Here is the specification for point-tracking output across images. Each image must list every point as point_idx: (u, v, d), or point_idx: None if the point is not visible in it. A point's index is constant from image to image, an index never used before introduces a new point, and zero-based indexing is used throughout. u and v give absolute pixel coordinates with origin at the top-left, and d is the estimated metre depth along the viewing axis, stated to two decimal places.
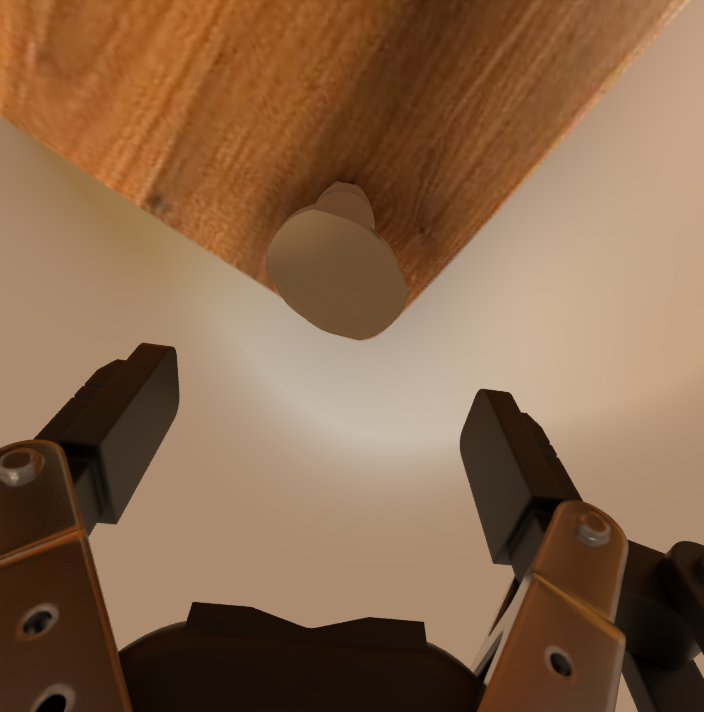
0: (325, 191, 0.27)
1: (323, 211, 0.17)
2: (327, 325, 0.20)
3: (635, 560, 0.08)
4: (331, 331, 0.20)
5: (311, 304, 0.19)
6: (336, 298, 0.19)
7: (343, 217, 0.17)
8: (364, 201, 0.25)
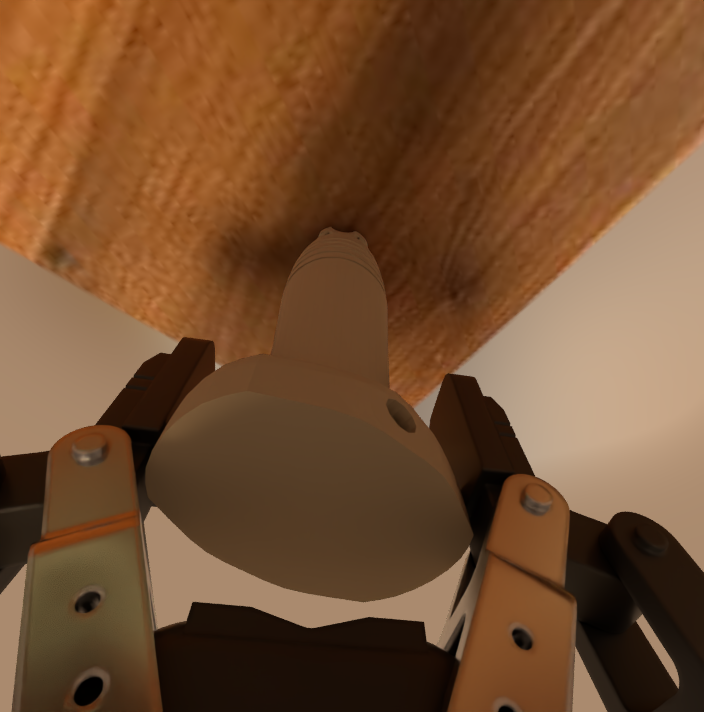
0: (306, 253, 0.16)
1: (274, 391, 0.07)
2: (296, 582, 0.09)
3: (579, 530, 0.08)
4: (305, 590, 0.09)
5: (259, 553, 0.09)
6: (313, 544, 0.09)
7: (325, 404, 0.07)
8: (370, 276, 0.15)
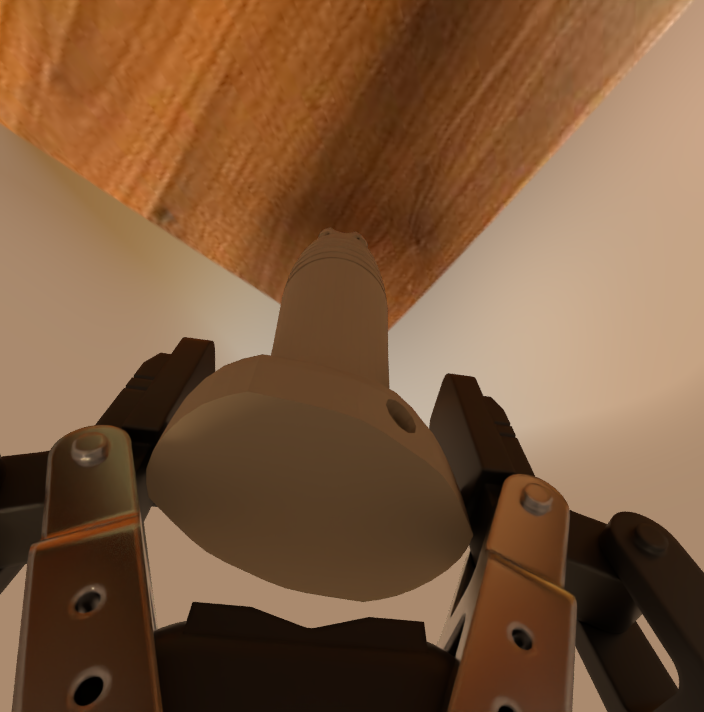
0: (306, 253, 0.16)
1: (274, 392, 0.07)
2: (296, 582, 0.09)
3: (579, 530, 0.08)
4: (305, 590, 0.09)
5: (259, 553, 0.09)
6: (314, 544, 0.09)
7: (325, 404, 0.07)
8: (370, 277, 0.15)
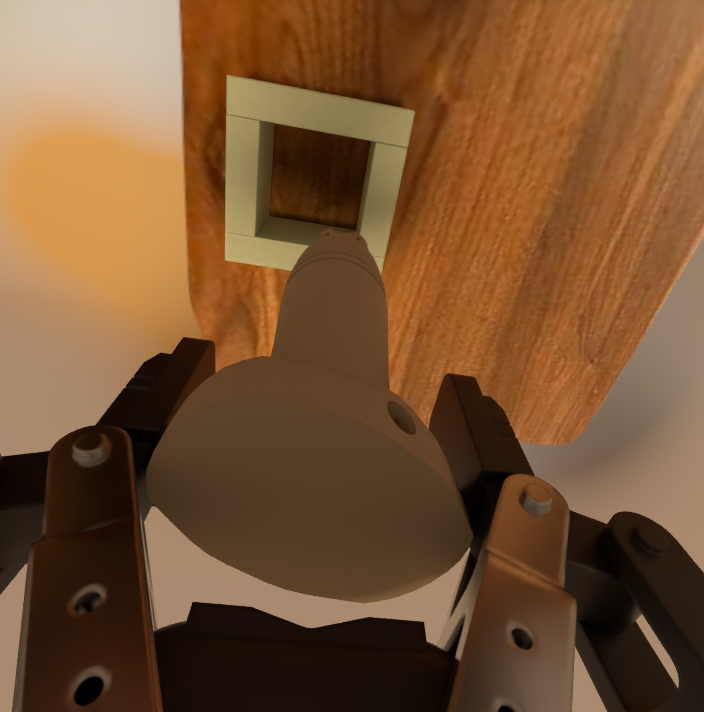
0: (306, 254, 0.16)
1: (275, 394, 0.07)
2: (296, 583, 0.09)
3: (579, 530, 0.08)
4: (305, 591, 0.09)
5: (259, 554, 0.09)
6: (314, 546, 0.09)
7: (326, 406, 0.07)
8: (370, 277, 0.15)
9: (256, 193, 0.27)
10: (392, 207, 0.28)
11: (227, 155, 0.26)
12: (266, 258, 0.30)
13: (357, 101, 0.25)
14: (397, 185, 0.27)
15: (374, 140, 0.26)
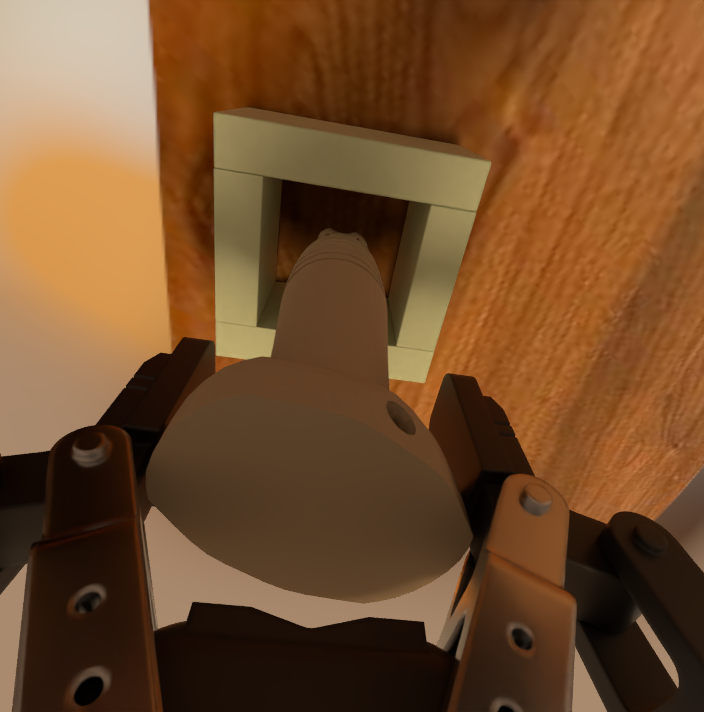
0: (306, 254, 0.16)
1: (274, 394, 0.07)
2: (296, 583, 0.09)
3: (579, 530, 0.08)
4: (305, 591, 0.09)
5: (259, 555, 0.09)
6: (313, 546, 0.09)
7: (325, 406, 0.07)
8: (370, 277, 0.15)
9: (258, 272, 0.20)
10: (448, 289, 0.20)
11: (216, 223, 0.18)
12: None
13: (407, 149, 0.17)
14: (458, 261, 0.19)
15: (429, 202, 0.18)
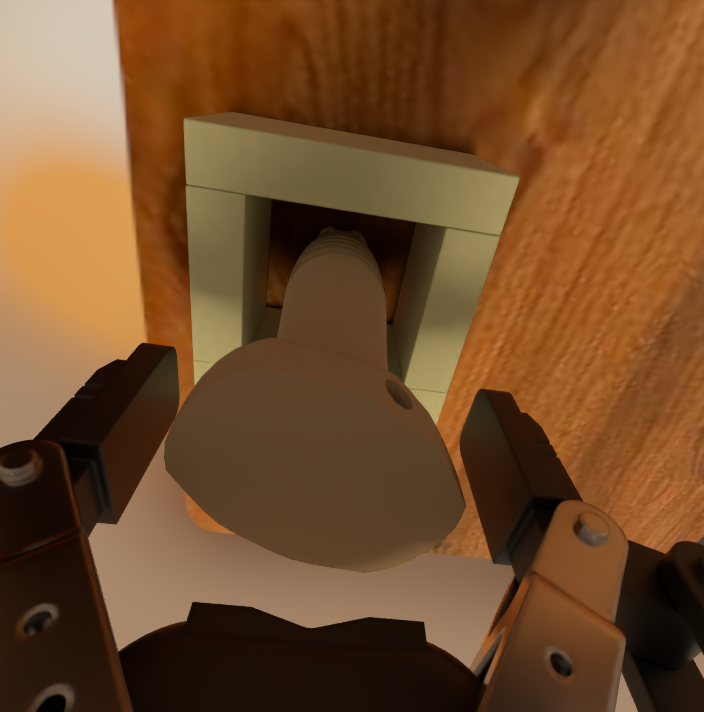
0: (308, 250, 0.17)
1: (283, 369, 0.07)
2: (301, 553, 0.10)
3: (635, 560, 0.08)
4: (310, 561, 0.10)
5: (267, 524, 0.09)
6: (318, 516, 0.09)
7: (329, 381, 0.07)
8: (370, 272, 0.16)
9: (242, 305, 0.17)
10: (465, 324, 0.17)
11: (191, 249, 0.15)
12: None
13: (418, 162, 0.14)
14: (477, 293, 0.16)
15: (444, 225, 0.15)
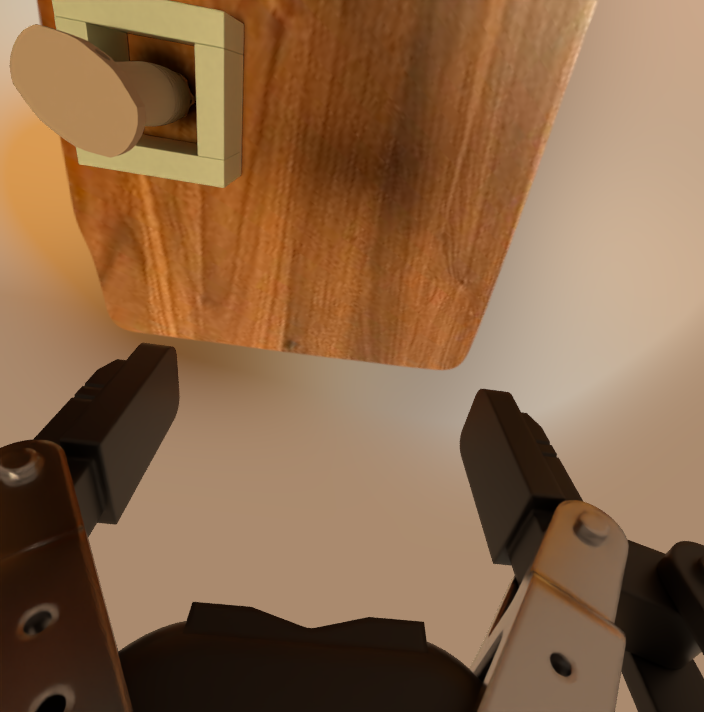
0: None
1: (46, 27, 0.21)
2: (79, 142, 0.24)
3: (635, 560, 0.08)
4: (84, 148, 0.24)
5: (60, 120, 0.23)
6: (79, 114, 0.23)
7: (63, 33, 0.21)
8: (158, 70, 0.29)
9: None
10: (221, 108, 0.30)
11: None
12: (116, 161, 0.32)
13: (169, 2, 0.27)
14: (221, 86, 0.30)
15: (192, 41, 0.28)
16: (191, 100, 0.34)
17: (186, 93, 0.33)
